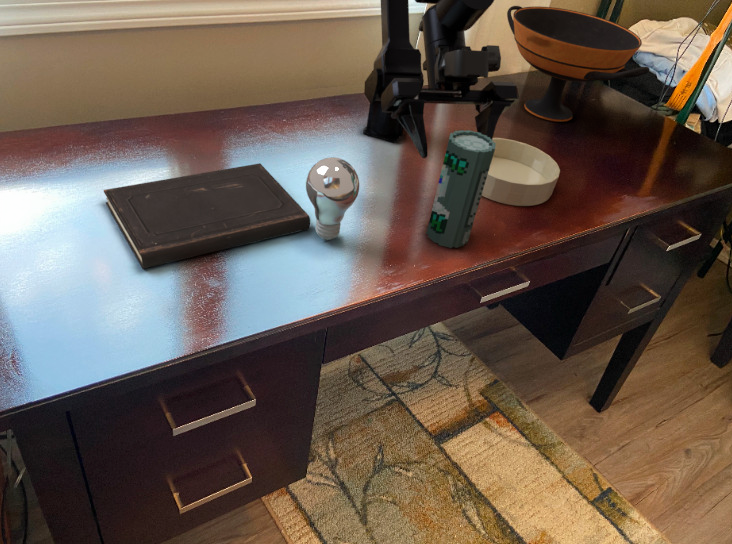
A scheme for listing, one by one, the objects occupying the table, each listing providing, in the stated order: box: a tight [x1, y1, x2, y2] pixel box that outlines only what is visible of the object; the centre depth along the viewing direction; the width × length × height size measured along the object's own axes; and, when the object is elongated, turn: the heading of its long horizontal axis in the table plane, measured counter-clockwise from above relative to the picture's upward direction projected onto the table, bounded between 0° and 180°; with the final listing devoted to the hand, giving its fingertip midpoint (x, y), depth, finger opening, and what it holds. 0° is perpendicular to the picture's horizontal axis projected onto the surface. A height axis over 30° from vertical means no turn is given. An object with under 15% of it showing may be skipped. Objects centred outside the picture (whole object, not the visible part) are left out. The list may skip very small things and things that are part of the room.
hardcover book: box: [103, 163, 311, 269], centre depth 83 cm, size 16×23×2 cm
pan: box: [481, 137, 561, 207], centre depth 103 cm, size 16×16×4 cm
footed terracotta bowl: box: [506, 5, 651, 122], centre depth 126 cm, size 36×26×18 cm
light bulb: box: [305, 156, 360, 241], centre depth 80 cm, size 7×7×12 cm
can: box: [425, 129, 496, 249], centre depth 84 cm, size 6×6×15 cm
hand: (455, 157), depth 85 cm, fingers open, 9 cm apart
